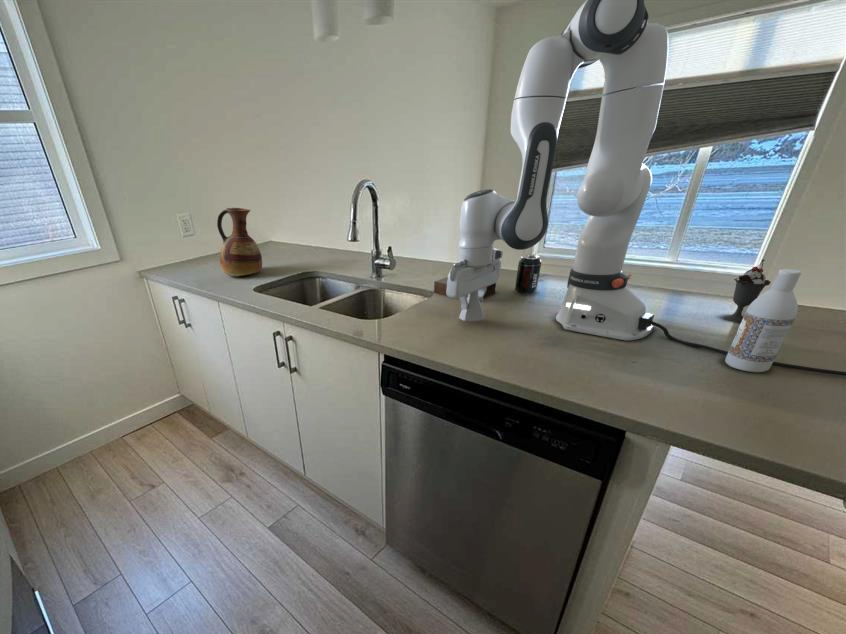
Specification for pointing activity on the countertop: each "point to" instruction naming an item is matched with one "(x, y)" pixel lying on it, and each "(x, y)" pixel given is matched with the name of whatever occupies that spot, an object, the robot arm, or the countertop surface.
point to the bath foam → (765, 325)
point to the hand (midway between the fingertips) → (472, 305)
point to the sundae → (747, 291)
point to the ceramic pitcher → (238, 246)
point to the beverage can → (528, 274)
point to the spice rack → (441, 287)
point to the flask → (472, 309)
